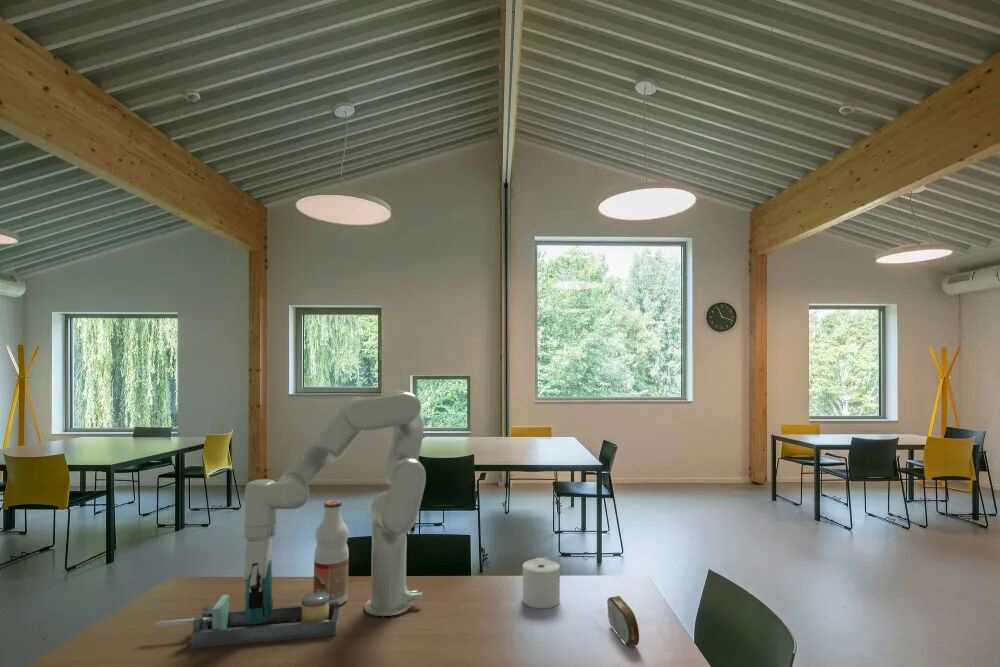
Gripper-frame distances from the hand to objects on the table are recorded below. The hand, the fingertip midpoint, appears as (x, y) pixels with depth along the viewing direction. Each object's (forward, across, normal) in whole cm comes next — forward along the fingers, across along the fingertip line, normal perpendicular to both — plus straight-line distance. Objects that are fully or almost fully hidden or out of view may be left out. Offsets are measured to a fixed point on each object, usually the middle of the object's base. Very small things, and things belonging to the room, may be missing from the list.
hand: (258, 602), depth 141 cm
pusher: (+7, 0, -16) cm, 17 cm away
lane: (+7, 0, +2) cm, 8 cm away
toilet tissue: (+8, -5, +75) cm, 76 cm away
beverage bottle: (+6, -1, 0) cm, 6 cm away
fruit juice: (+8, -15, +16) cm, 23 cm away
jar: (+7, 0, +14) cm, 16 cm away
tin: (+8, +20, +89) cm, 92 cm away
